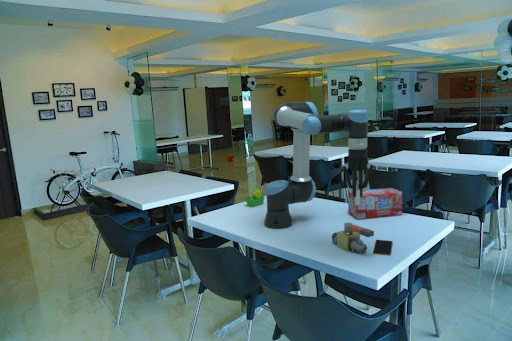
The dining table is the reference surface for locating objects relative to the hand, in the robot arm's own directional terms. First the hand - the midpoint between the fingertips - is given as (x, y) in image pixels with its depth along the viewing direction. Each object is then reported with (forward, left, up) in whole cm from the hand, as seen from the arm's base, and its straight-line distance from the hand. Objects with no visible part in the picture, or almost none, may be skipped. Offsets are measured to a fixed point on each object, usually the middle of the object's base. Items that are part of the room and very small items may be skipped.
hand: (357, 204), depth 165 cm
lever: (-2, +3, -15) cm, 15 cm away
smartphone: (+1, +14, -23) cm, 27 cm away
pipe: (-8, +2, -22) cm, 24 cm away
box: (-36, +48, -23) cm, 64 cm away
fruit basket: (-95, +3, -23) cm, 98 cm away
